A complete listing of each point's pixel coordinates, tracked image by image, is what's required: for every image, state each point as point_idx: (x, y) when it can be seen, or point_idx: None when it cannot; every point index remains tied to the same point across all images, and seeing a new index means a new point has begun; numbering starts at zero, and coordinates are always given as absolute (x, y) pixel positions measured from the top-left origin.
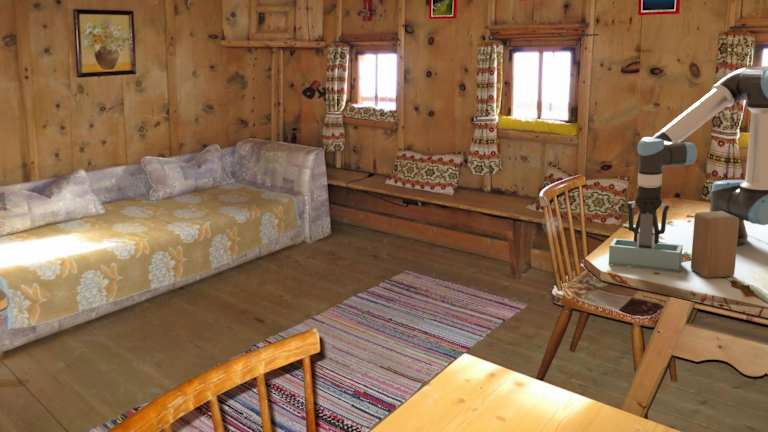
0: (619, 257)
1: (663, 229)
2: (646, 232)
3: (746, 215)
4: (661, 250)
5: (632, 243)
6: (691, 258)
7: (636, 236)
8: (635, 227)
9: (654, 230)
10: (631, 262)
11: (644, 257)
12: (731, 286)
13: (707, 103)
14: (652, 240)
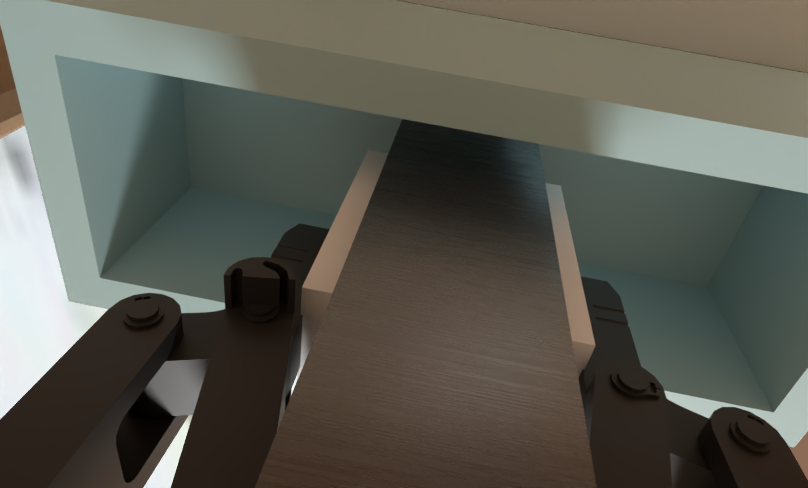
0: (771, 88)
1: (93, 352)
2: (437, 316)
3: None
4: (239, 48)
5: None
6: (3, 113)
7: (593, 331)
8: (664, 457)
9: (279, 356)
10: (615, 49)
11: (475, 44)
12: None
13: None
14: (352, 239)
